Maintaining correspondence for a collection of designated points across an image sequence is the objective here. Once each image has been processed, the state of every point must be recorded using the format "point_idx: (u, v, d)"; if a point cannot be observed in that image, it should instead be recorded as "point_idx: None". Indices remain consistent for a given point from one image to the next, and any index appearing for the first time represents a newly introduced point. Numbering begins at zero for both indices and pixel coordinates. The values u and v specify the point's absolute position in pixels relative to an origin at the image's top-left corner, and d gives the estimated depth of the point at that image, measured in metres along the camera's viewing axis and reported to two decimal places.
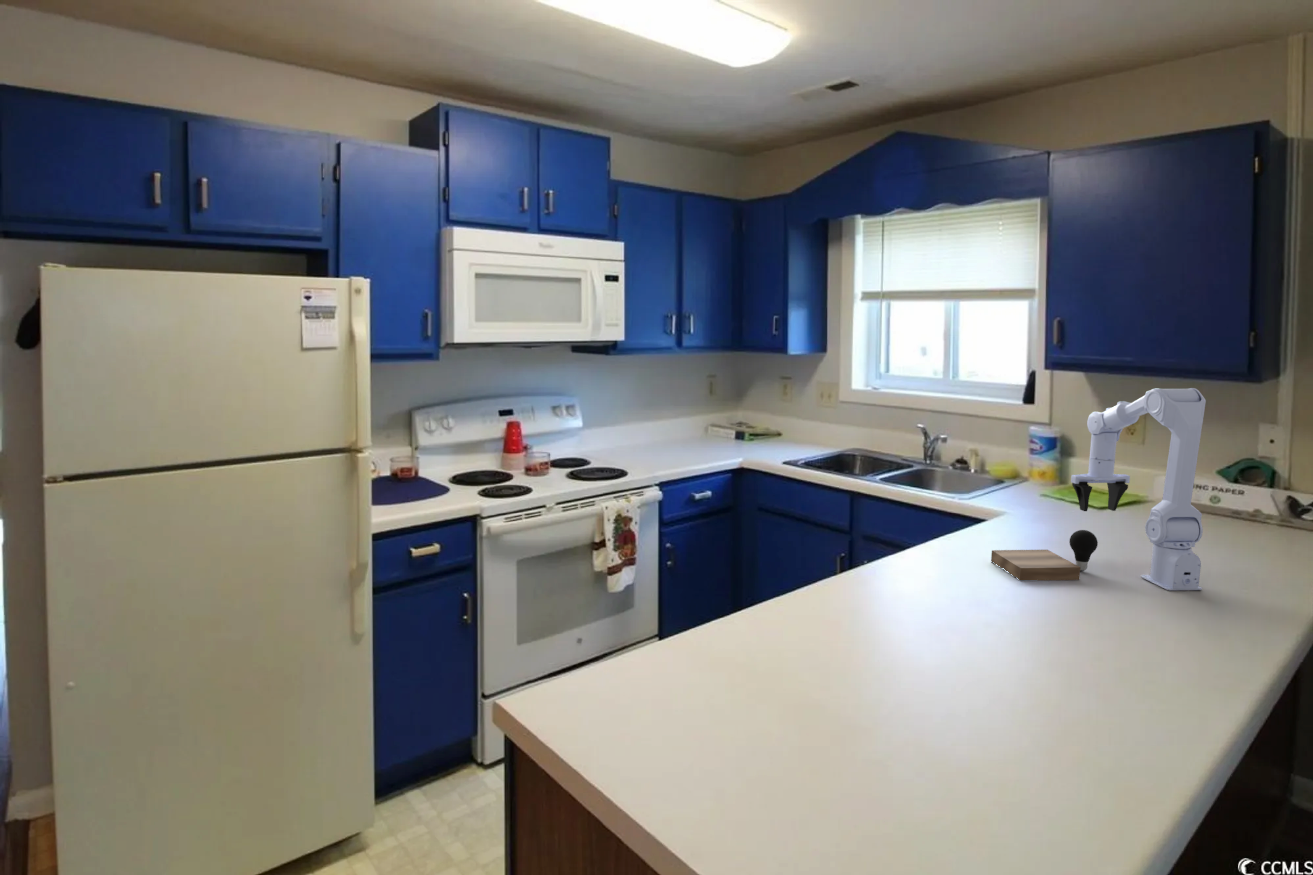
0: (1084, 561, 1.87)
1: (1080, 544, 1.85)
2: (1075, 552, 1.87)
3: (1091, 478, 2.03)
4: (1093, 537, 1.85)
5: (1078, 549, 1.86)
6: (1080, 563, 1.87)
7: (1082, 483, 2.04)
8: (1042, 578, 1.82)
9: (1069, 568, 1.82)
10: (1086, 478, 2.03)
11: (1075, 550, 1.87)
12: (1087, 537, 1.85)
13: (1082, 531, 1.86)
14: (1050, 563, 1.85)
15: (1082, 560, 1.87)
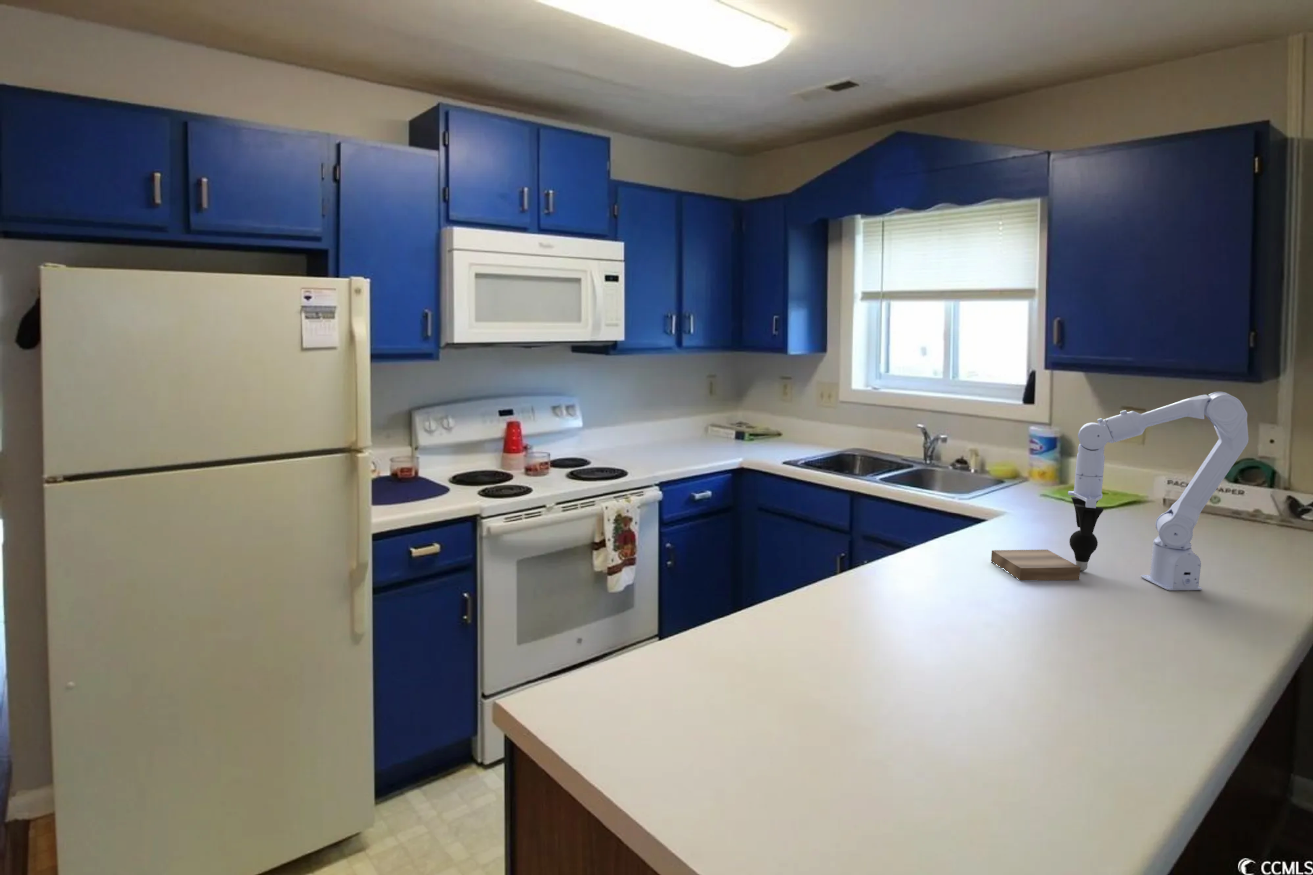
0: (1084, 561, 1.87)
1: (1080, 544, 1.85)
2: (1075, 552, 1.87)
3: (1098, 498, 1.82)
4: (1093, 537, 1.85)
5: (1078, 549, 1.86)
6: (1080, 563, 1.87)
7: None
8: (1042, 578, 1.82)
9: (1069, 568, 1.82)
10: (1097, 499, 1.81)
11: (1075, 550, 1.87)
12: (1087, 537, 1.85)
13: None
14: (1050, 563, 1.85)
15: (1082, 560, 1.87)
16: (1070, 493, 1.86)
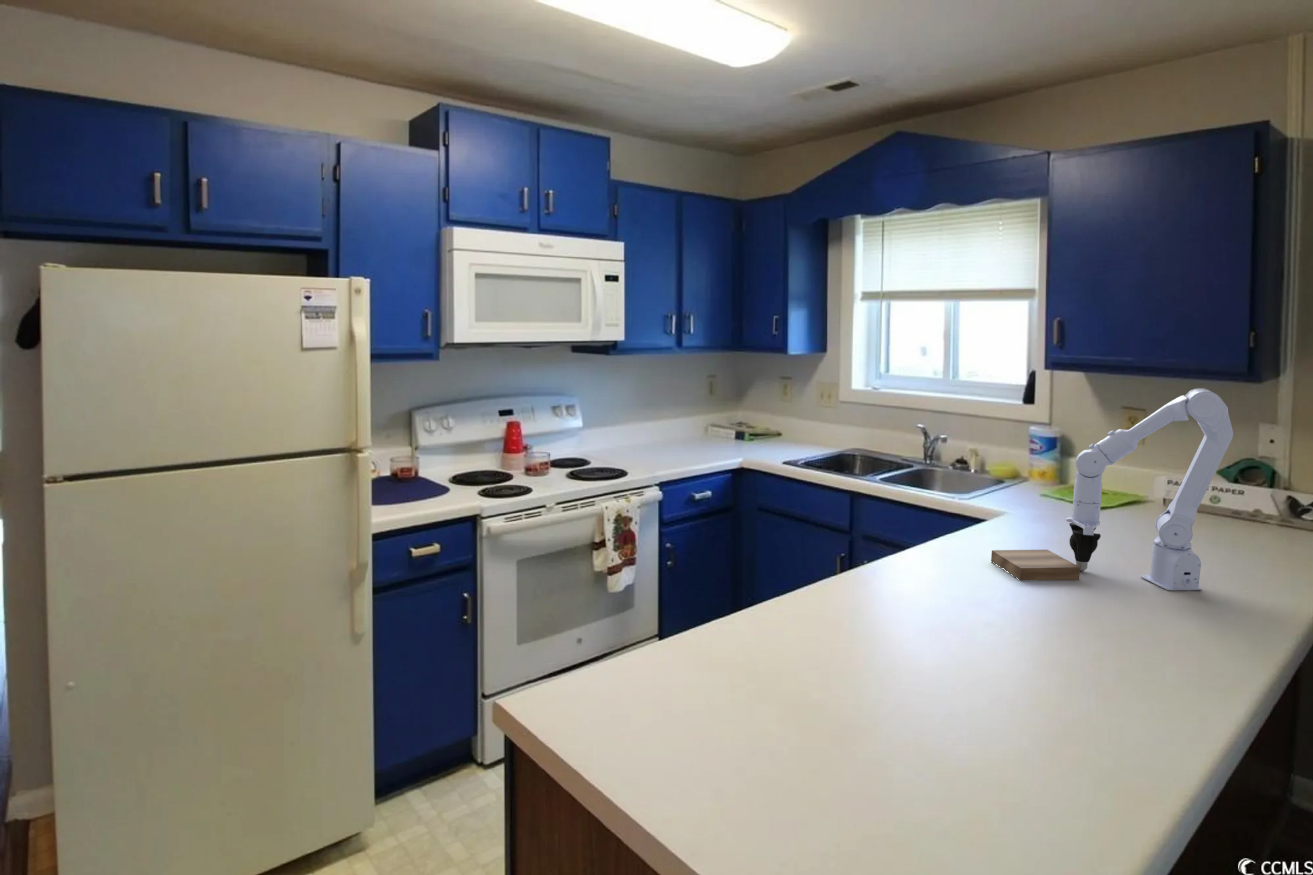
0: None
1: None
2: (1075, 552, 1.87)
3: (1096, 525, 1.82)
4: None
5: None
6: (1080, 563, 1.87)
7: None
8: (1042, 578, 1.82)
9: (1069, 568, 1.82)
10: (1095, 526, 1.82)
11: (1075, 550, 1.87)
12: None
13: None
14: (1050, 563, 1.85)
15: None
16: (1068, 519, 1.87)
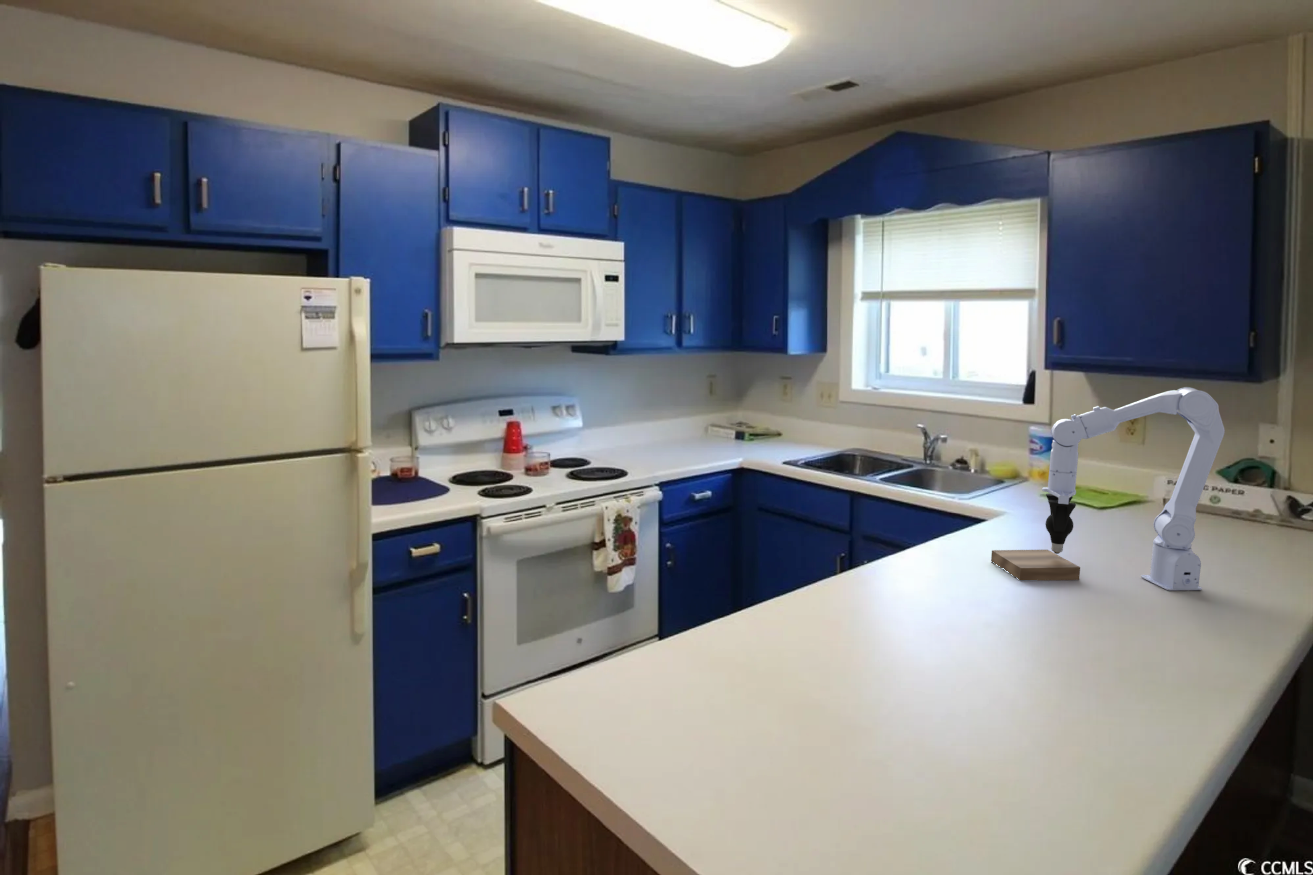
0: (1059, 543, 1.86)
1: None
2: (1051, 534, 1.87)
3: (1071, 494, 1.82)
4: (1069, 519, 1.85)
5: (1053, 531, 1.86)
6: (1055, 545, 1.87)
7: None
8: (1042, 578, 1.82)
9: (1069, 568, 1.82)
10: (1070, 496, 1.81)
11: (1050, 532, 1.86)
12: None
13: None
14: (1050, 563, 1.85)
15: (1057, 542, 1.86)
16: (1044, 489, 1.86)
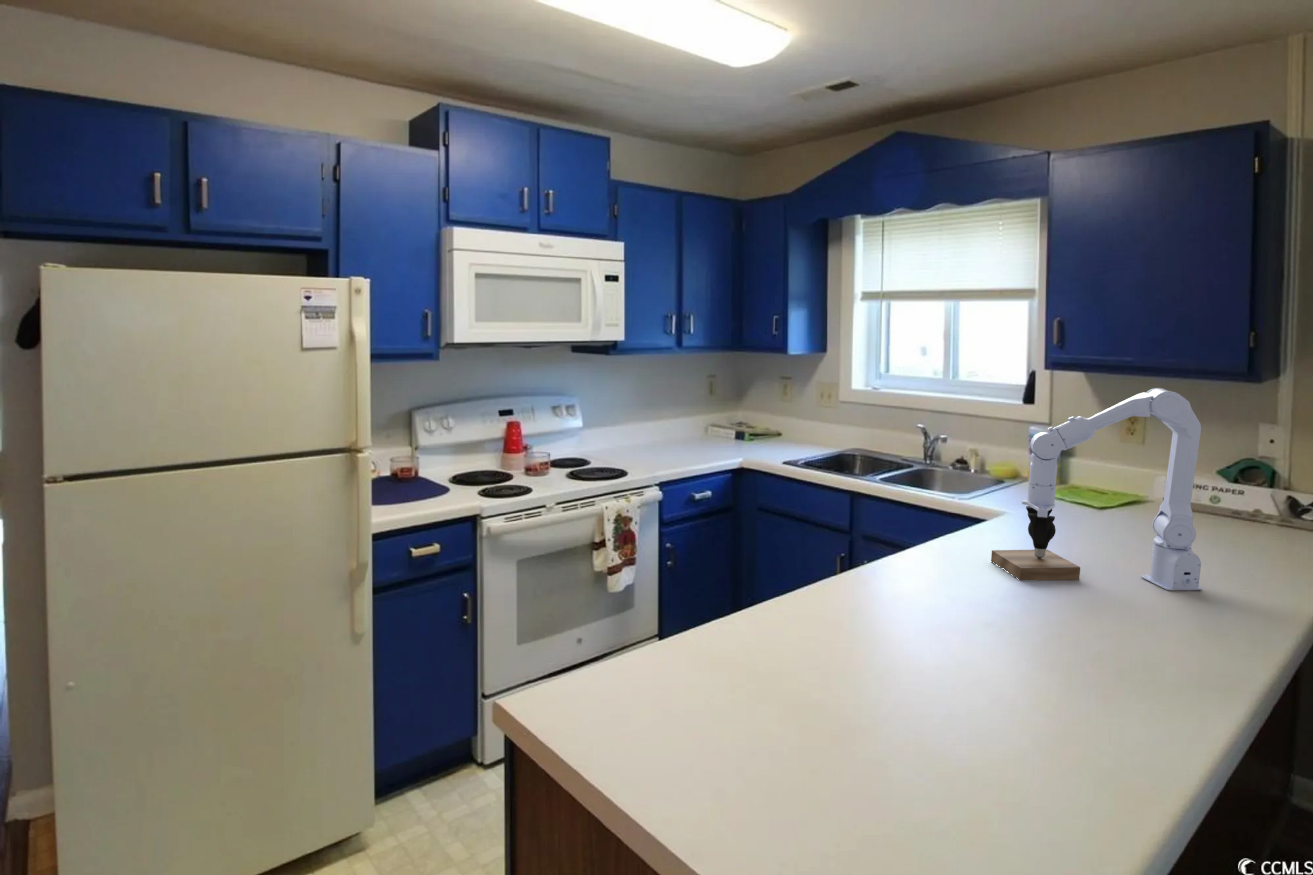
0: (1042, 548, 1.86)
1: None
2: None
3: (1051, 507, 1.82)
4: None
5: None
6: (1038, 550, 1.87)
7: None
8: (1042, 578, 1.82)
9: (1069, 568, 1.82)
10: (1049, 509, 1.82)
11: None
12: None
13: None
14: (1050, 563, 1.85)
15: (1040, 547, 1.86)
16: (1023, 502, 1.87)
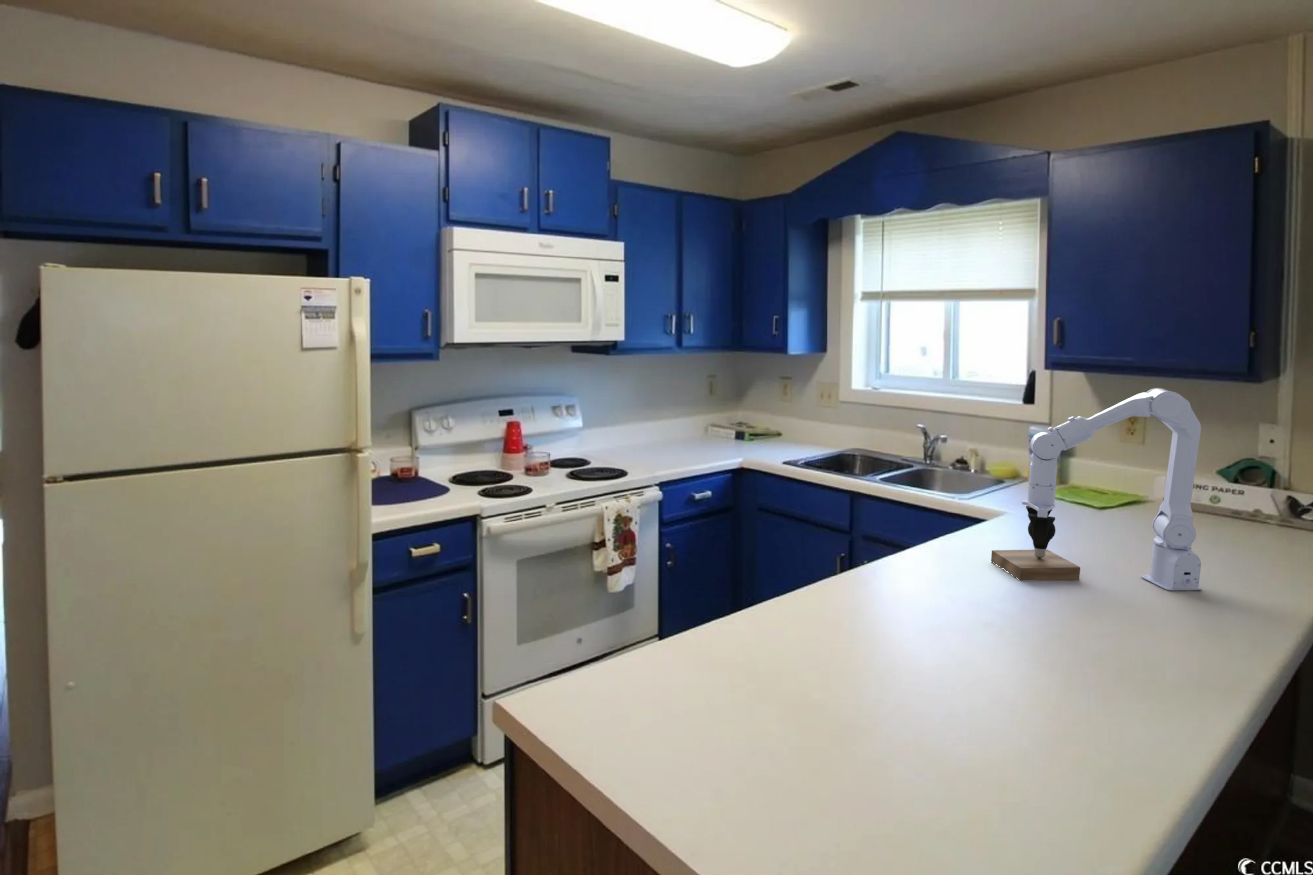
0: (1042, 548, 1.86)
1: None
2: None
3: (1051, 508, 1.82)
4: None
5: None
6: (1038, 550, 1.87)
7: None
8: (1042, 578, 1.82)
9: (1069, 568, 1.82)
10: (1049, 509, 1.81)
11: None
12: None
13: None
14: (1050, 563, 1.85)
15: (1040, 547, 1.87)
16: (1023, 502, 1.87)
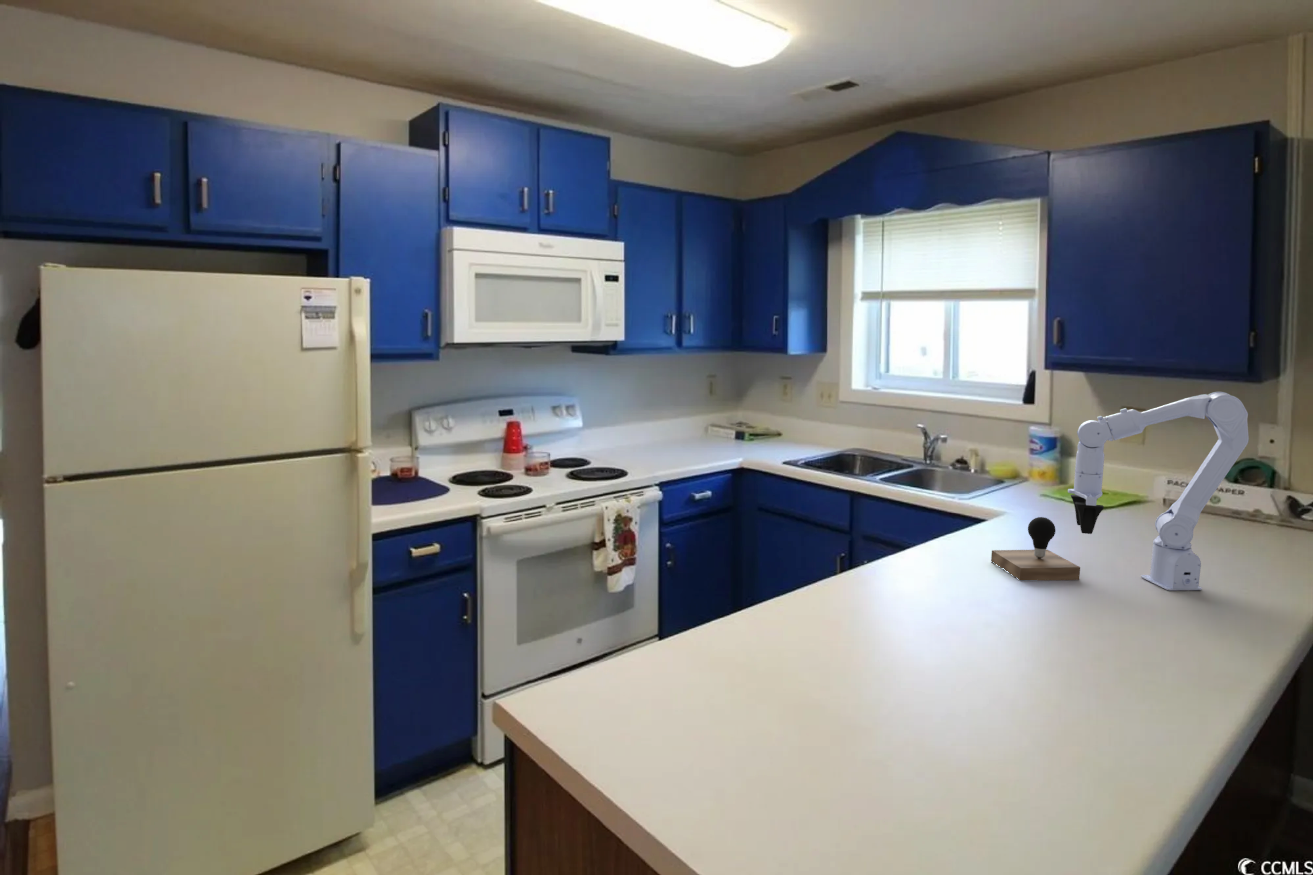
0: (1042, 548, 1.86)
1: (1037, 531, 1.85)
2: (1033, 539, 1.87)
3: (1099, 496, 1.81)
4: (1050, 524, 1.85)
5: (1035, 536, 1.86)
6: (1038, 550, 1.87)
7: None
8: (1042, 578, 1.82)
9: (1069, 568, 1.82)
10: (1097, 497, 1.80)
11: (1033, 537, 1.87)
12: (1044, 524, 1.85)
13: (1040, 518, 1.86)
14: (1050, 563, 1.85)
15: (1040, 547, 1.87)
16: (1070, 491, 1.86)
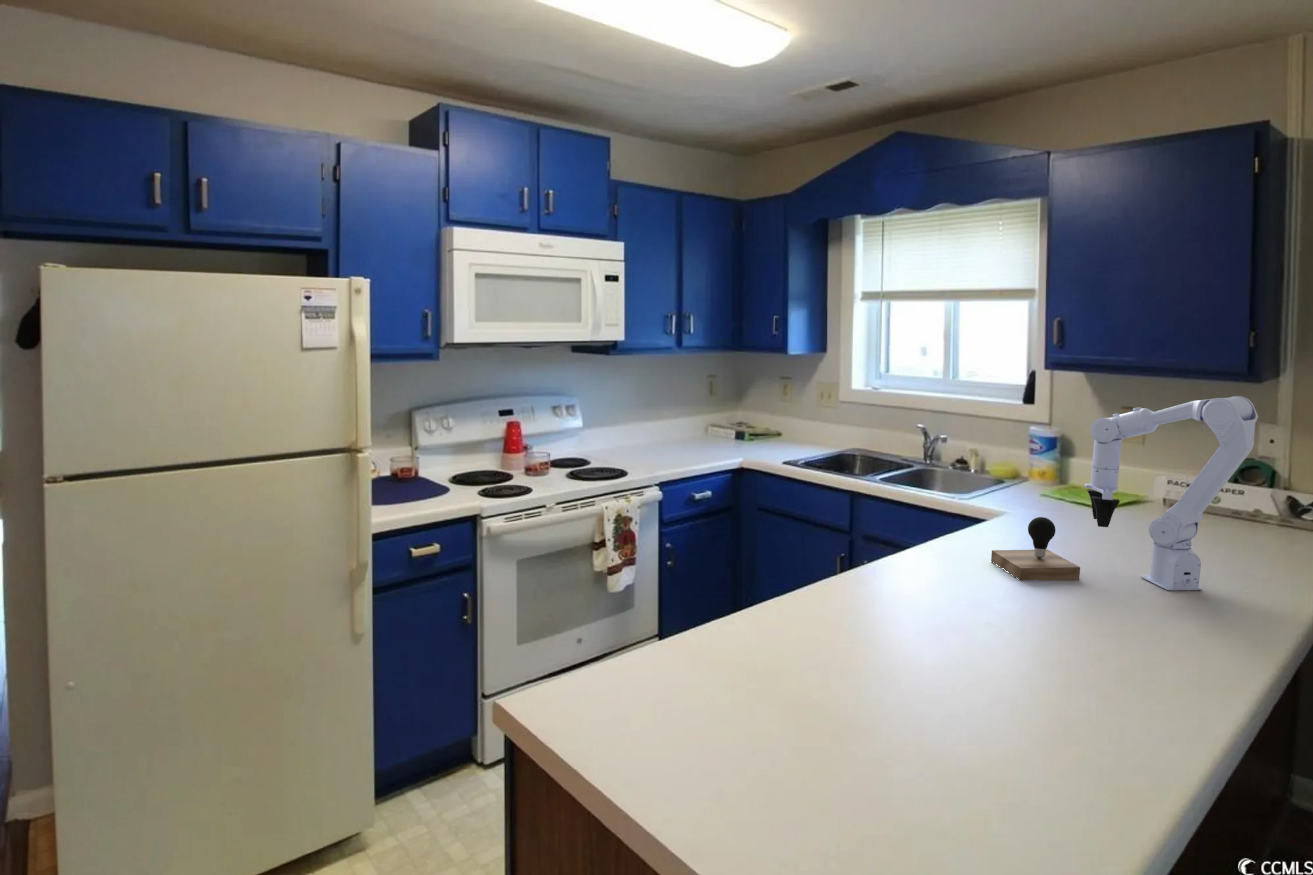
0: (1042, 548, 1.86)
1: (1037, 531, 1.85)
2: (1033, 539, 1.87)
3: (1115, 490, 1.87)
4: (1050, 524, 1.85)
5: (1035, 536, 1.86)
6: (1038, 550, 1.87)
7: None
8: (1042, 578, 1.82)
9: (1069, 568, 1.82)
10: (1113, 491, 1.86)
11: (1033, 537, 1.87)
12: (1044, 524, 1.85)
13: (1040, 518, 1.86)
14: (1050, 563, 1.85)
15: (1040, 547, 1.87)
16: (1087, 486, 1.91)
